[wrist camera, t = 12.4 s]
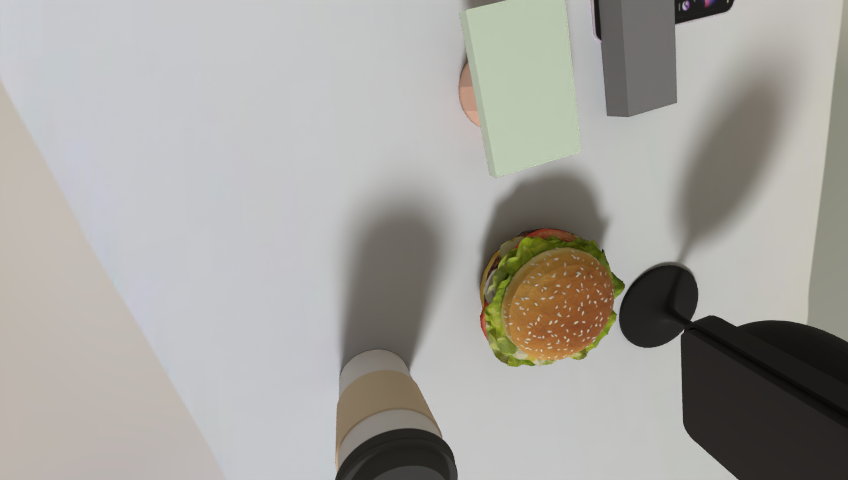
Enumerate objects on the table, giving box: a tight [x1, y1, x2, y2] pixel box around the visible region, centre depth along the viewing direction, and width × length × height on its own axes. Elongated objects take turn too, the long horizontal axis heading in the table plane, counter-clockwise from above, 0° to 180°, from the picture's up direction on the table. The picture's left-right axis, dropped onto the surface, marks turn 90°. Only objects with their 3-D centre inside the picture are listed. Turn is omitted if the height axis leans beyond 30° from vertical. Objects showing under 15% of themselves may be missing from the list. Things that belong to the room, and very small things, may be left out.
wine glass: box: [619, 265, 848, 385], centre depth 40 cm, size 10×10×20 cm
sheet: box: [459, 0, 582, 178], centre depth 33 cm, size 12×8×1 cm, turn 14°
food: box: [480, 229, 625, 367], centre depth 41 cm, size 14×14×8 cm
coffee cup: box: [335, 349, 458, 480], centre depth 36 cm, size 9×9×15 cm
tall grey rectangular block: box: [599, 0, 677, 117], centre depth 38 cm, size 10×5×3 cm, turn 14°
